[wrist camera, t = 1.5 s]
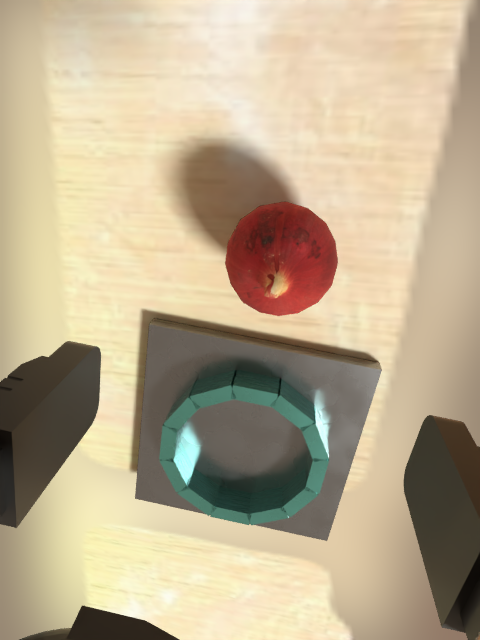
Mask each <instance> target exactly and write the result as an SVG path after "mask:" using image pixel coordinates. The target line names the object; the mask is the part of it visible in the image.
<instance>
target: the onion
mask: <svg viewBox="0 0 480 640" xmlns="http://www.w3.org/2000/svg"><path fill="white" fill-rule="evenodd" d="M337 263H338V259H337V251H336V243H335V240H334V238H333V236H332V234H331V232H330V230H329V228H328V226H327V224H326V223H325V222H324V221H323V220H322V219H320V218H319V217H318V216H317V215H315V214H314V213H313V212H312V211H311V210H309V209H308V208H305V207H302V206H299V205H295V204H292V203H289V202H280V203H274V204H268V205H262V206H259V207H258V208H256V209H255V210H253V211H252V212H251V213H249V214H248V215H246V216H245V217H243V218H242V219H241V220H240V221H239V223H238V225H237V227H236V229H235V230H234V232H233V234H232V236H231V238H230V240H229V242H228V246H227V254H226V262H225V265H226V268H227V272H228V276H229V279H230V283H231V285H232V287H233V288H234V290H235V291H236V293H237V294H238V296H239V297H240V299H241V301H242V302H243V303H245V304H247V305H248V306H250V307H252V308H253V309H255V310H257V311H259V312H261V313H266V314H272V315H277V316H281V315H288V314H295V313H299V312H301V311H303V310H305V309H306V308H308V307H310V306H312V305H314V304H316V303H317V302H319V300H320V299H321V298H322V297H323V295H324V294H325V293H326V292H327V291H328V289H329V288H330V287H331V286H332V283H333V279H334V275H335V272H336V268H337Z"/></svg>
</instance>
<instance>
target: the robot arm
mask: <svg viewBox="0 0 480 640" xmlns="http://www.w3.org/2000/svg"><path fill="white" fill-rule="evenodd" d="M100 367H101V352H100V349H99V348H98V347H96V346H91V345H86V344H81V343H76V342H71V341H67V342H65V343H64V344H63V345H62V346H61V347H60V348H59V349H57V350H56V351H55V352H54V353H53V354H52V355H51V356H49V357H45V356H41V357H38V358H36V359H33V360H31V361H29V362H26V363H24V364H21V365H20V366H19V367H18V368H17V369H15V370H14V371H13V372H12V373H10V374H9V375H8V377H7V378H5V379H3V380H2V381H1V382H0V524H2V525H7V526H11V527H15V528H17V527H18V525H19V524H20V523H21V521H22V520H23V518H24V517H25V516H26V514H27V513H28V512H29V510H30V509H31V507H32V506H33V505H34V503H35V502H36V501H37V499H38V498H39V496H40V495H41V494H42V492H43V491H44V490H45V488H46V487H47V485H48V484H49V483H50V481H51V480H52V478H53V477H54V476H55V474H56V473H57V472H58V470H59V469H60V468H61V466H62V465H63V463H64V462H65V461H66V459H67V458H68V457H69V455H70V454H71V452H72V451H73V450H74V448H75V447H76V446H77V444H78V443H79V441H80V440H81V439H82V437H83V436H84V435H85V433H86V432H87V430H88V429H89V428H90V426H91V425H92V423H93V421H94V419H95V416H96V413H97V410H98V405H99V392H100ZM404 492H405V496H406V500H407V504H408V507H409V511H410V515H411V518H412V522H413V525H414V529H415V532H416V536H417V540H418V543H419V547H420V550H421V554H422V557H423V561H424V565H425V569H426V572H427V576H428V579H429V583H430V587H431V590H432V594H433V598H434V601H435V605H436V608H437V612H438V616H439V619H440V623H441V626H442V627H443V628H447V629H451V630H456V631H460V632H464V633H466V635H467V638H468V640H480V447H478V446H477V445H476V444H475V442H474V440H473V438H472V436H471V434H470V433H469V431H468V429H467V427H466V426H465V424H464V423H463V422H461V421H456V420H452V419H447V418H442V417H437V416H432V415H429V416H427V417H426V418H425V420H424V422H423V424H422V426H421V429H420V431H419V434H418V437H417V439H416V442H415V445H414V447H413V450H412V453H411V455H410V458H409V461H408V463H407V466H406V469H405V474H404ZM20 640H179V639H177V638H176V637H174V636H172V635H170V634H168V633H167V632H165V631H163V630H161V629H159V628H158V627H156V626H154V625H152V624H151V623H149V622H147V621H145V620H141V619H136V618H132V617H128V616H124V615H120V614H115V613H111V612H107V611H103V610H99V609H94V608H90V607H86V606H82V607H81V609H80V611H79V613H78V615H77V618H76V620H75V622H74V624H73V626H72V628H66V629H57V630H51V631H45V632H41V633H38V634H34V635H31V636H27V637H25V638H22V639H20Z"/></svg>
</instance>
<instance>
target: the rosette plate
mask: <svg viewBox="0 0 480 640" xmlns="http://www.w3.org/2000/svg"><path fill="white" fill-rule="evenodd" d="M381 371H382V369H381V366H380V363H379V362H374V361H369V360H364V359H359V358H354V357H349V356H344V355H339V354H333V353H328V352H323V351H318V350H313V349H308V348H303V347H298V346H293V345H288V344H283V343H277V342H272V341H267V340H262V339H257V338H252V337H247V336H242V335H237V334H232V333H227V332H222V331H216V330H211V329H206V328H201V327H196V326H191V325H186V324H181V323H176V322H171V321H166V320H160V319H155V318H154V319H153V320H152V321H151V323H150V324H149V334H148V346H147V358H146V371H145V383H144V395H143V408H142V420H141V432H140V445H139V457H138V469H137V483H136V494H135V499H139V500H144V501H149V502H153V503H158V504H163V505H167V506H171V507H176V508H180V509H185V510H190V511H194V512H198V513H203V514H207V515H208V516H209V515H211V517H215V518H220V519H224V520H228V521H233V522H237V523H242V524H247V525H249V524H251V525H258V526H262V527H267V528H271V529H275V530H280V531H285V532H289V533H294V534H298V535H303V536H307V537H312V538H316V539H321V540H326V541H327V539H328V536H329V533H330V530H331V527H332V524H333V521H334V517H335V515H336V511H337V508H338V505H339V502H340V499H341V496H342V493H343V490H344V486H345V483H346V480H347V477H348V474H349V471H350V468H351V464H352V461H353V458H354V455H355V452H356V449H357V446H358V443H359V439H360V436H361V433H362V430H363V427H364V424H365V421H366V418H367V414H368V411H369V408H370V405H371V402H372V399H373V396H374V393H375V389H376V386H377V383H378V380H379V377H380V374H381Z"/></svg>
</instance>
